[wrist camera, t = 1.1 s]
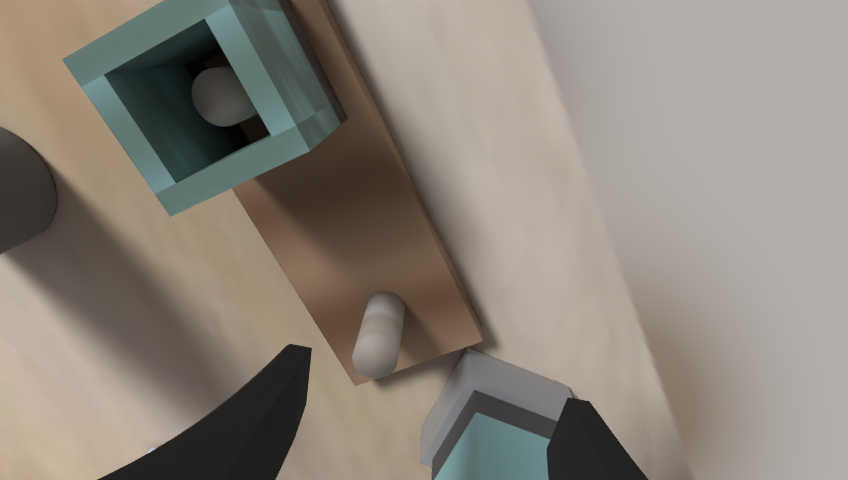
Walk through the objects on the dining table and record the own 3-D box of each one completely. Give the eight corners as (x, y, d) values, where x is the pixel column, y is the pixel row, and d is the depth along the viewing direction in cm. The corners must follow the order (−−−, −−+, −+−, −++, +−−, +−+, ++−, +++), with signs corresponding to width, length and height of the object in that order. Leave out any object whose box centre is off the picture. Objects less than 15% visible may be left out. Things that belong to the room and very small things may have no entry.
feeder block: (516, 461, 28) (522, 499, 26) (421, 427, 28) (419, 463, 25) (568, 386, 26) (580, 420, 24) (467, 347, 25) (469, 378, 23)
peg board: (481, 324, 25) (494, 435, 18) (359, 367, 26) (329, 486, 19) (305, -44, 19) (223, -90, 12) (159, 38, 20) (9, 39, 13)
